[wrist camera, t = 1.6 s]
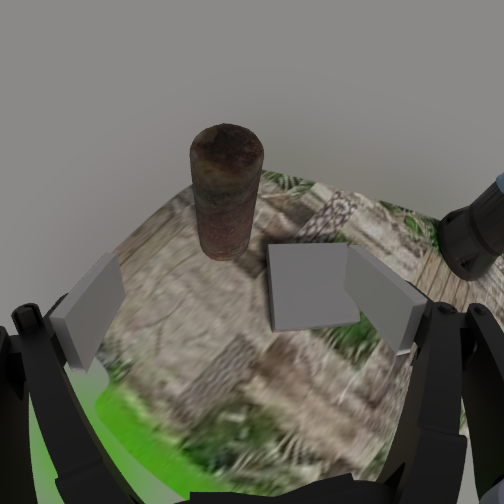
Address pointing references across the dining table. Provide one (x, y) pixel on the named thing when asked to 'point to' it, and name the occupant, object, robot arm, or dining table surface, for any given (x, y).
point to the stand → (309, 287)
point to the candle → (225, 188)
